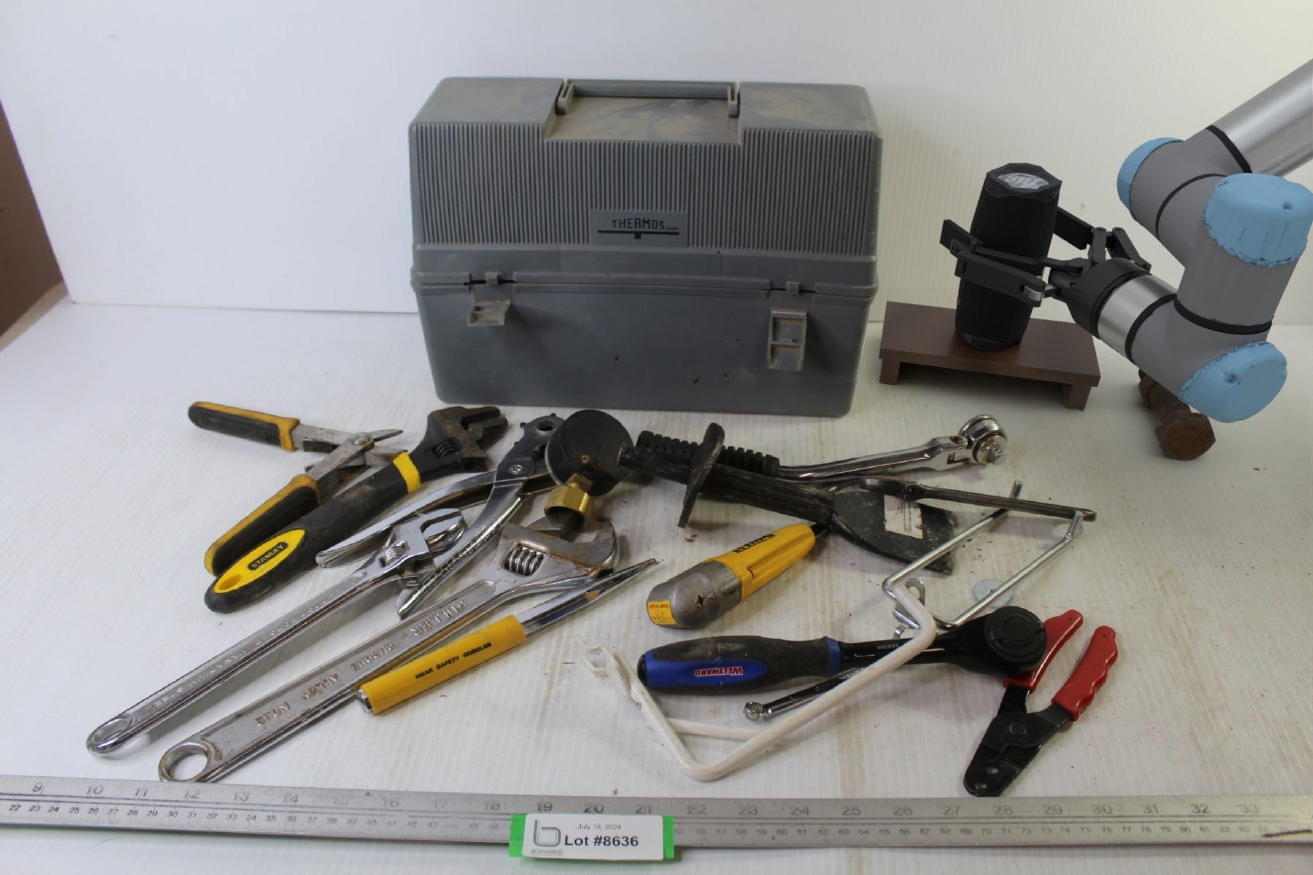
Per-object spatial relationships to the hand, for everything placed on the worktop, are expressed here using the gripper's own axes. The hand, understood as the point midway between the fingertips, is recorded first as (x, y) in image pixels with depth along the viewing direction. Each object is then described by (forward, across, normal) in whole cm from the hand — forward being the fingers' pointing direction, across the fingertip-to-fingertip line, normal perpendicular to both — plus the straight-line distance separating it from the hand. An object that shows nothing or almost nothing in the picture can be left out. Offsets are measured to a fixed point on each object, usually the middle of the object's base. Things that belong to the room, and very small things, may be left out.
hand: (997, 223), depth 109 cm
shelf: (-3, 0, -18) cm, 18 cm away
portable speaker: (-3, 0, -13) cm, 13 cm away
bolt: (-18, +14, -18) cm, 29 cm away
